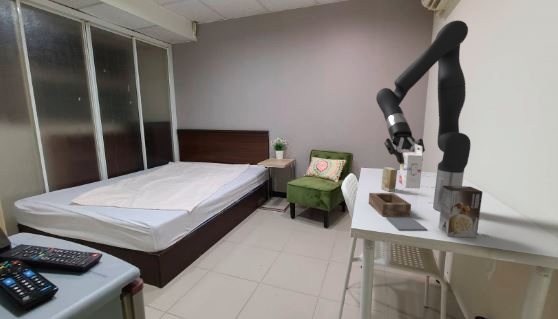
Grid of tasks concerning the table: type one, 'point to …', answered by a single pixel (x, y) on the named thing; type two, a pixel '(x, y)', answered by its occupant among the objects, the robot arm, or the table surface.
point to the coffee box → (460, 211)
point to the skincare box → (389, 179)
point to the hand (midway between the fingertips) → (411, 162)
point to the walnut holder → (389, 204)
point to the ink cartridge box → (411, 168)
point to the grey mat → (406, 224)
